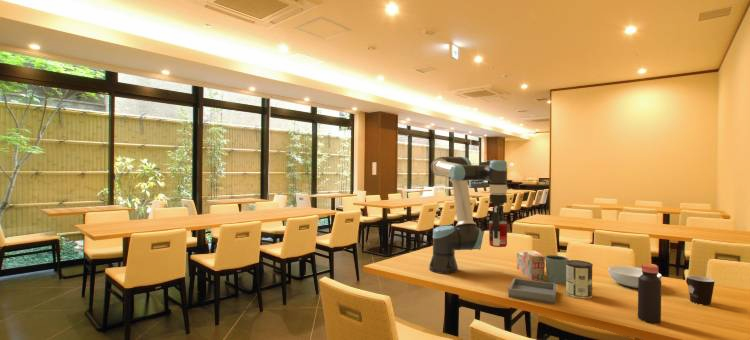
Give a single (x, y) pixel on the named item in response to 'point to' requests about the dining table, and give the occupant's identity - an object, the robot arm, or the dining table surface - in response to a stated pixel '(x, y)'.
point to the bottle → (649, 294)
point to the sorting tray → (533, 290)
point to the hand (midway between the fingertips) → (498, 243)
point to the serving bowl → (627, 275)
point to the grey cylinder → (556, 269)
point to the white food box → (531, 264)
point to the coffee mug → (700, 289)
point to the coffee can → (579, 279)
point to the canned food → (502, 234)
